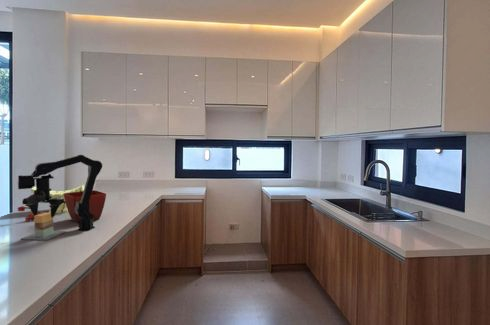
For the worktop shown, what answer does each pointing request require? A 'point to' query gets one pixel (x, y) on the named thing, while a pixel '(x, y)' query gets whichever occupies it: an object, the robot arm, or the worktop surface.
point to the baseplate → (32, 237)
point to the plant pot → (95, 203)
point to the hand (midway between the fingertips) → (44, 217)
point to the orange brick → (42, 218)
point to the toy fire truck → (30, 215)
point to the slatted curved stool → (61, 195)
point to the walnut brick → (43, 225)
